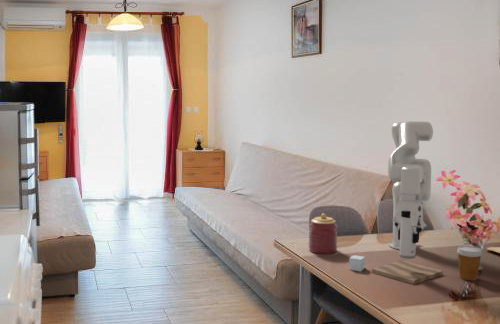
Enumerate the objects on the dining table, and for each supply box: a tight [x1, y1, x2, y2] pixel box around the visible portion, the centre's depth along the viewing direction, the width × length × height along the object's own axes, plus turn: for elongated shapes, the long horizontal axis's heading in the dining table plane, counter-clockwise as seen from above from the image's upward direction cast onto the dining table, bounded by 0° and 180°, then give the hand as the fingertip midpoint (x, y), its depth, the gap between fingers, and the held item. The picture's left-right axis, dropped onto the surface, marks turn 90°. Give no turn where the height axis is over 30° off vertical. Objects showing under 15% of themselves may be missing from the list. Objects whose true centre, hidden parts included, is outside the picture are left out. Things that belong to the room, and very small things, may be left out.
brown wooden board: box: [371, 259, 444, 285], centre depth 242 cm, size 20×20×2 cm
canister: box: [308, 213, 338, 255], centre depth 276 cm, size 13×13×18 cm
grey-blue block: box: [348, 254, 366, 272], centre depth 248 cm, size 5×5×5 cm
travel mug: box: [399, 211, 417, 260], centre depth 240 cm, size 6×7×20 cm
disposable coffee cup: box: [456, 245, 483, 281], centre depth 236 cm, size 10×10×12 cm
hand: (408, 240), depth 240 cm, fingers closed on travel mug, 6 cm apart
